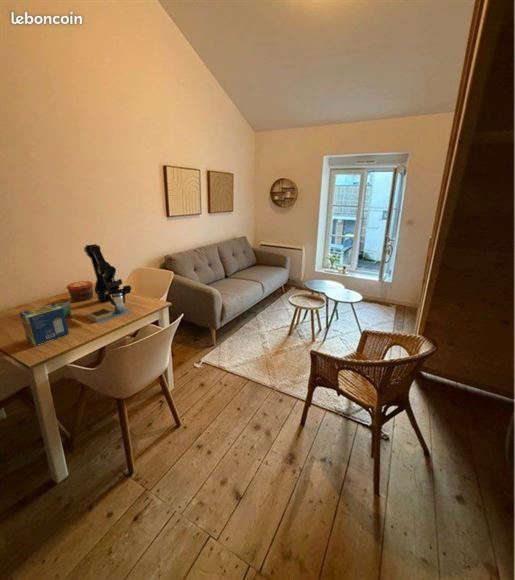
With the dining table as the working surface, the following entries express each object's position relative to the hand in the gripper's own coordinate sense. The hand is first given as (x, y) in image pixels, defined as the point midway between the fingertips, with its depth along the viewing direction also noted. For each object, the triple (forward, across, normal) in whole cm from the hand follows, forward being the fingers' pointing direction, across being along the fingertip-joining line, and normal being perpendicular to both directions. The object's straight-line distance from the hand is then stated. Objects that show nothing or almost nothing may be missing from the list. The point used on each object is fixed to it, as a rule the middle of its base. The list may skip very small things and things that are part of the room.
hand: (119, 304), depth 172 cm
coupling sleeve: (+3, 0, +5) cm, 6 cm away
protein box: (+9, -38, +2) cm, 39 cm away
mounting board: (+4, -6, +6) cm, 9 cm away
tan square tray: (+3, -11, +5) cm, 13 cm away
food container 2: (-30, -10, +40) cm, 51 cm away
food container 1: (-7, -27, +17) cm, 33 cm away
